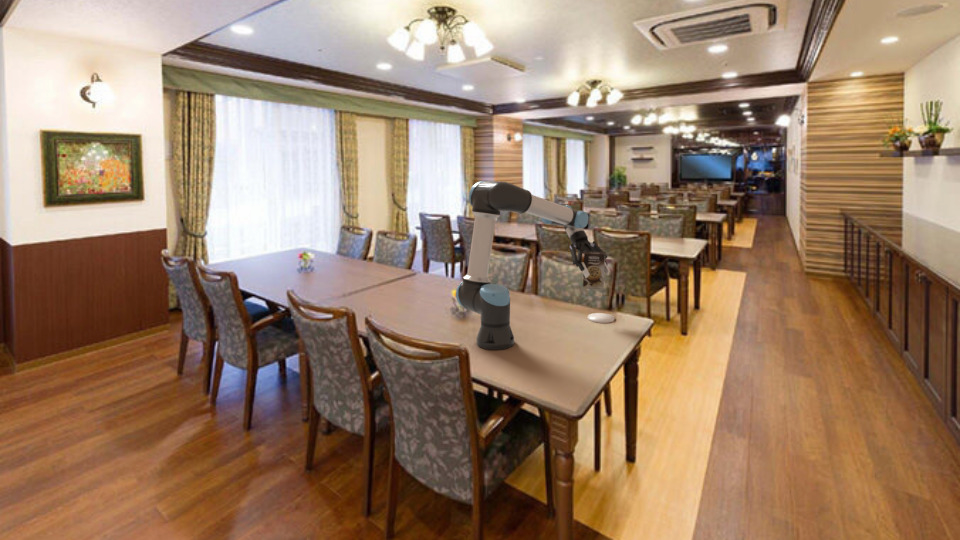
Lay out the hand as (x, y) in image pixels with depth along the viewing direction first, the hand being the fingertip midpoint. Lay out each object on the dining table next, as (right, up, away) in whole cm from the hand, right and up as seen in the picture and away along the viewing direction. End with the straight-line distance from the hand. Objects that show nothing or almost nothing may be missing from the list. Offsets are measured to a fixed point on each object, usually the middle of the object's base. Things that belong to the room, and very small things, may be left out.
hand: (597, 274), depth 216 cm
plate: (+4, -20, +9) cm, 23 cm away
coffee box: (-1, -6, +4) cm, 7 cm away
